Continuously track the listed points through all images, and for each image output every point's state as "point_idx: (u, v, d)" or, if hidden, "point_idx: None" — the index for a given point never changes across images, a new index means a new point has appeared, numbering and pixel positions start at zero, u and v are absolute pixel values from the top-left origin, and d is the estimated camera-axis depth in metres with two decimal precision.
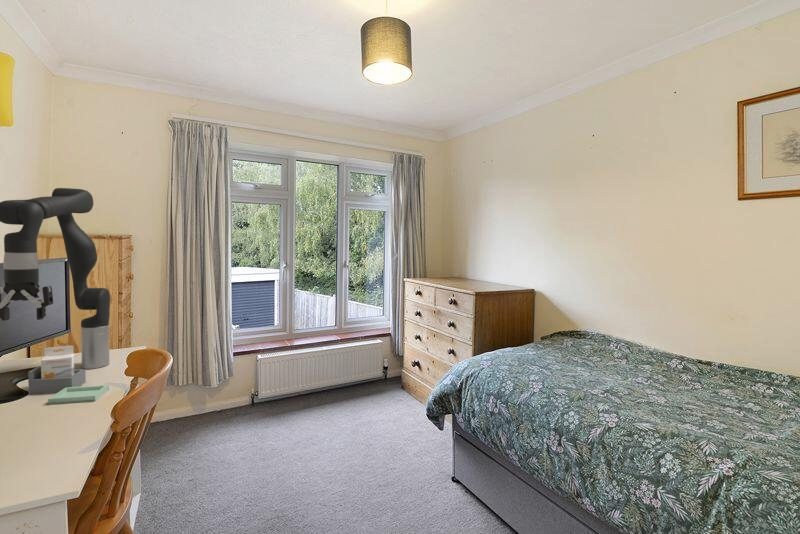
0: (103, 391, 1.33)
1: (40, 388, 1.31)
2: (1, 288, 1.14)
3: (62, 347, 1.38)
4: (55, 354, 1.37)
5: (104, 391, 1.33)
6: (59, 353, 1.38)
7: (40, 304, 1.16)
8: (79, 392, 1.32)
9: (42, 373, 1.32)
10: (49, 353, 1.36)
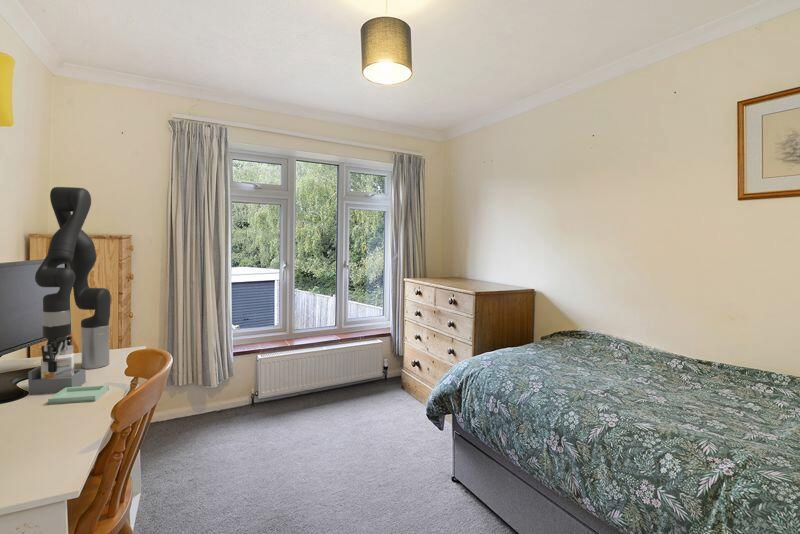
0: (103, 391, 1.33)
1: (40, 388, 1.31)
2: (50, 345, 1.31)
3: None
4: None
5: (104, 391, 1.33)
6: None
7: None
8: (79, 392, 1.32)
9: (41, 373, 1.32)
10: None
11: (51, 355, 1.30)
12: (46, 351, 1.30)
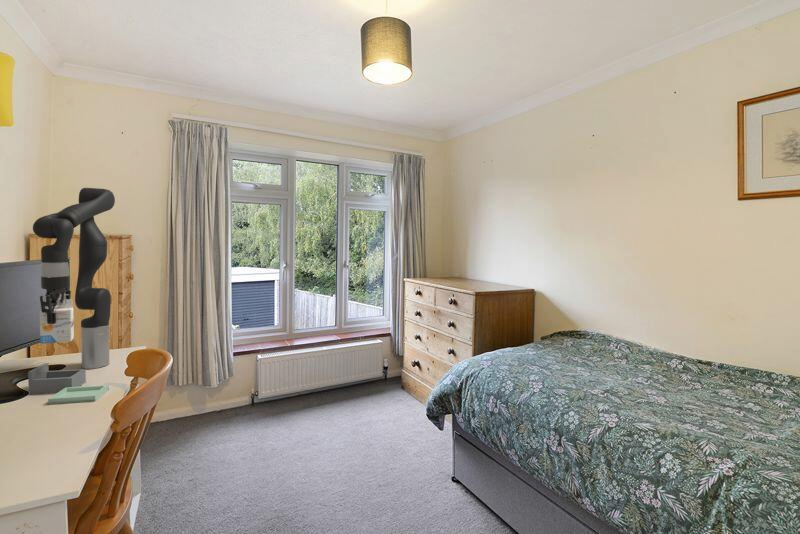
0: (103, 391, 1.33)
1: (40, 388, 1.31)
2: (49, 296, 1.30)
3: None
4: None
5: (104, 391, 1.33)
6: (58, 306, 1.37)
7: None
8: (79, 392, 1.32)
9: (40, 325, 1.31)
10: None
11: (50, 306, 1.29)
12: (45, 302, 1.28)
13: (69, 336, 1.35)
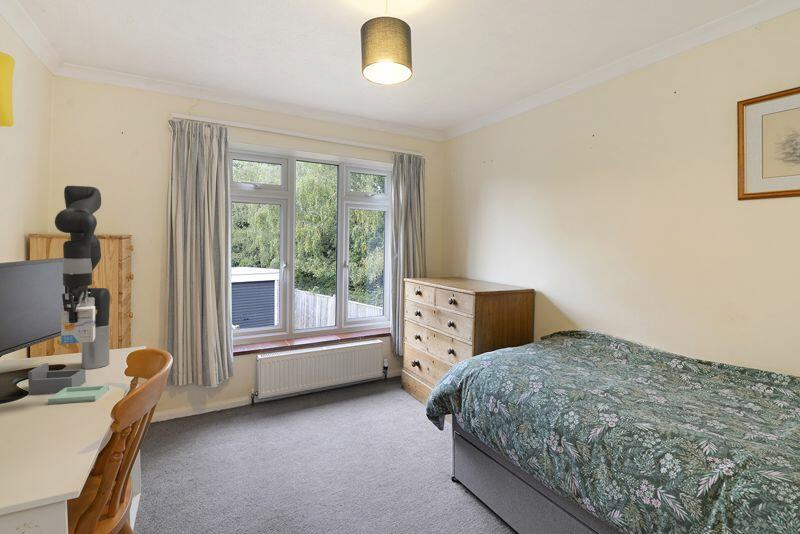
0: (103, 391, 1.33)
1: (40, 388, 1.31)
2: (71, 293, 1.23)
3: None
4: None
5: (104, 391, 1.33)
6: (80, 305, 1.30)
7: None
8: (79, 392, 1.32)
9: (62, 324, 1.24)
10: None
11: (72, 304, 1.23)
12: (68, 300, 1.22)
13: (91, 336, 1.29)
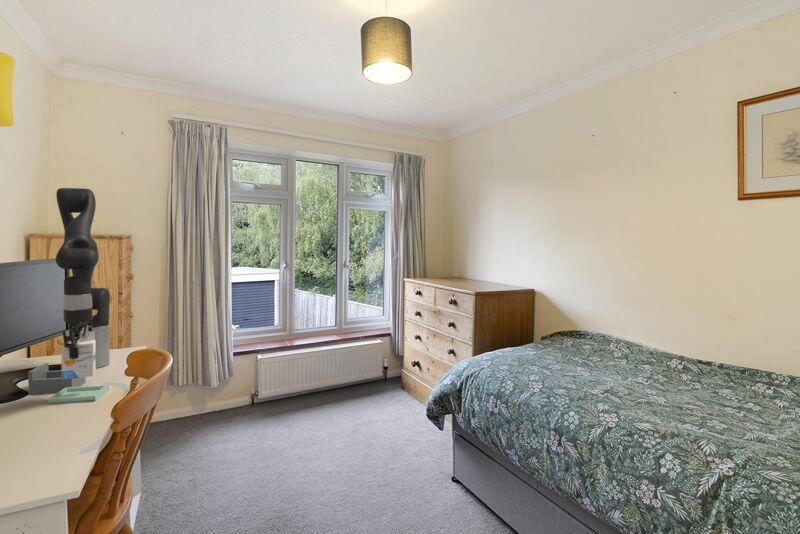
0: (103, 391, 1.33)
1: (40, 388, 1.31)
2: (72, 329, 1.24)
3: None
4: None
5: (104, 391, 1.33)
6: None
7: None
8: (79, 392, 1.32)
9: (62, 360, 1.25)
10: None
11: (73, 340, 1.23)
12: (68, 336, 1.23)
13: (91, 371, 1.29)
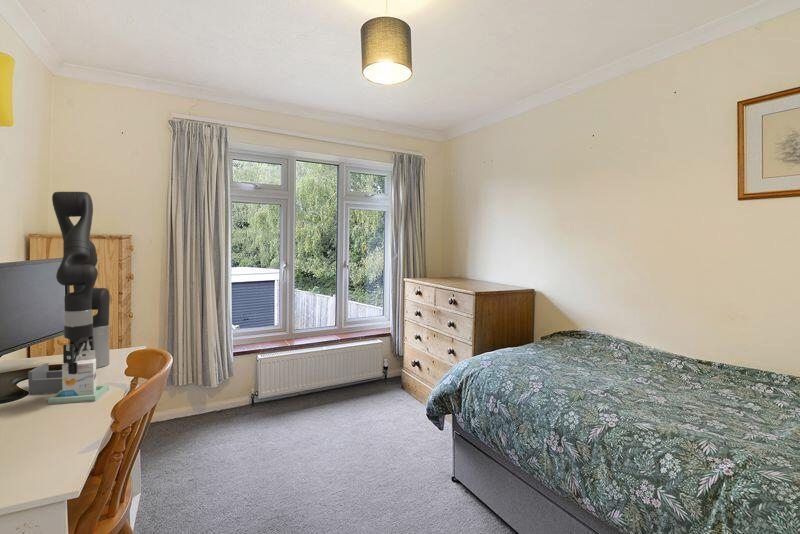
0: (103, 391, 1.33)
1: (40, 388, 1.31)
2: (72, 345, 1.24)
3: (84, 352, 1.31)
4: None
5: (104, 391, 1.33)
6: (81, 358, 1.31)
7: None
8: None
9: (63, 380, 1.26)
10: None
11: (72, 355, 1.23)
12: (68, 351, 1.23)
13: (92, 390, 1.30)
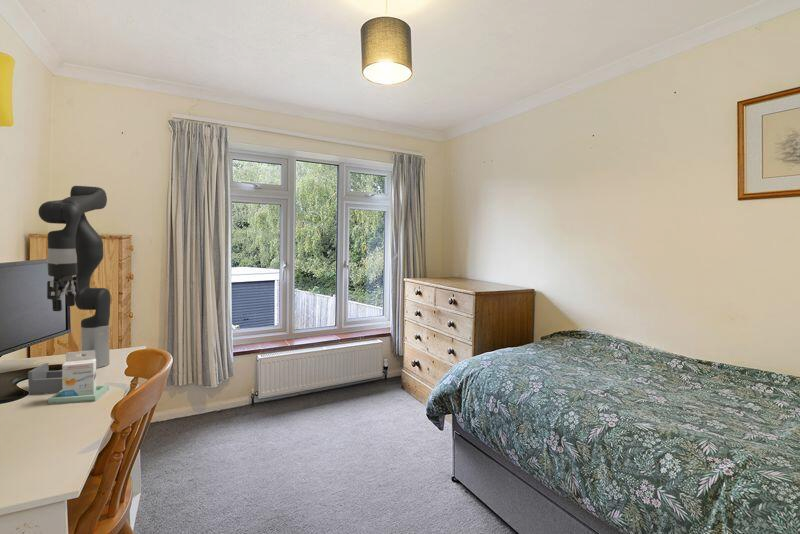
0: (103, 391, 1.33)
1: (40, 388, 1.31)
2: None
3: (84, 352, 1.32)
4: (77, 359, 1.31)
5: (104, 391, 1.33)
6: (81, 358, 1.31)
7: None
8: None
9: (63, 379, 1.26)
10: (71, 358, 1.30)
11: (56, 292, 1.24)
12: (52, 287, 1.23)
13: (92, 390, 1.30)
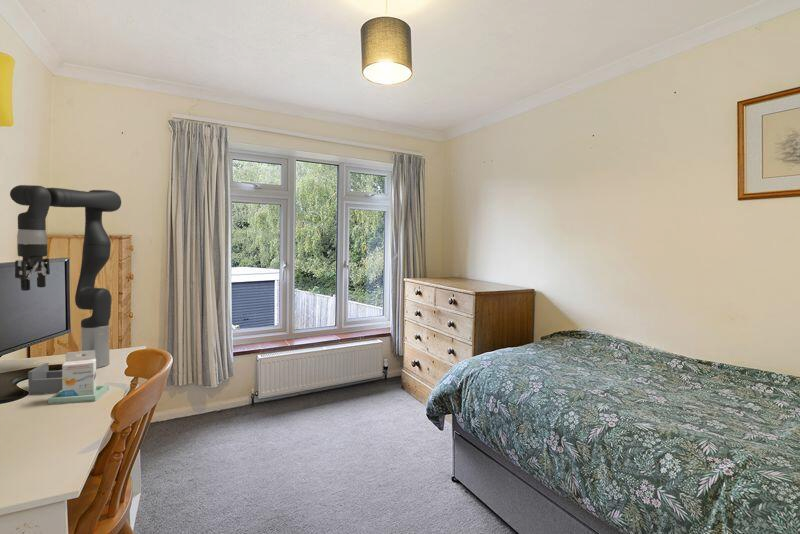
0: (103, 391, 1.33)
1: (40, 388, 1.31)
2: None
3: (84, 352, 1.32)
4: (77, 359, 1.31)
5: (104, 391, 1.33)
6: (81, 358, 1.31)
7: (46, 273, 1.38)
8: None
9: (63, 379, 1.26)
10: (71, 358, 1.30)
11: (24, 271, 1.27)
12: (20, 266, 1.26)
13: (92, 390, 1.30)
